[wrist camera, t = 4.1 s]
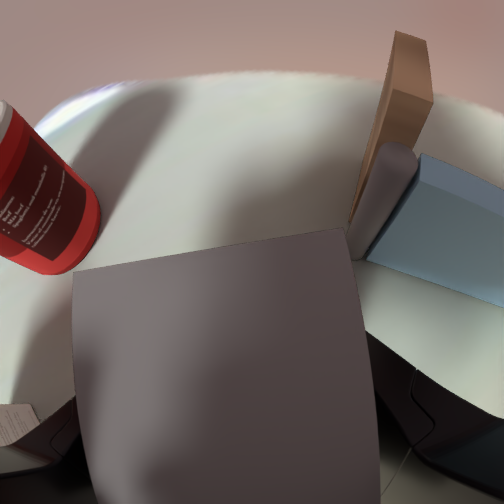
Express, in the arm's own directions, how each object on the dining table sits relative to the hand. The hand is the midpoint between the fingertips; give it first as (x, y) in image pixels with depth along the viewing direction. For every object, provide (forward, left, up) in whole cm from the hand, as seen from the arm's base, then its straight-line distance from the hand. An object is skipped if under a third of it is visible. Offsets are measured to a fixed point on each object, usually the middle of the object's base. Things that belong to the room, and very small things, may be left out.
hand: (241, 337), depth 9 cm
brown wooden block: (+8, -8, -7) cm, 13 cm away
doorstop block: (-1, 0, -7) cm, 7 cm away
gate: (+1, -12, -7) cm, 14 cm away
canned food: (+9, +14, -7) cm, 18 cm away
